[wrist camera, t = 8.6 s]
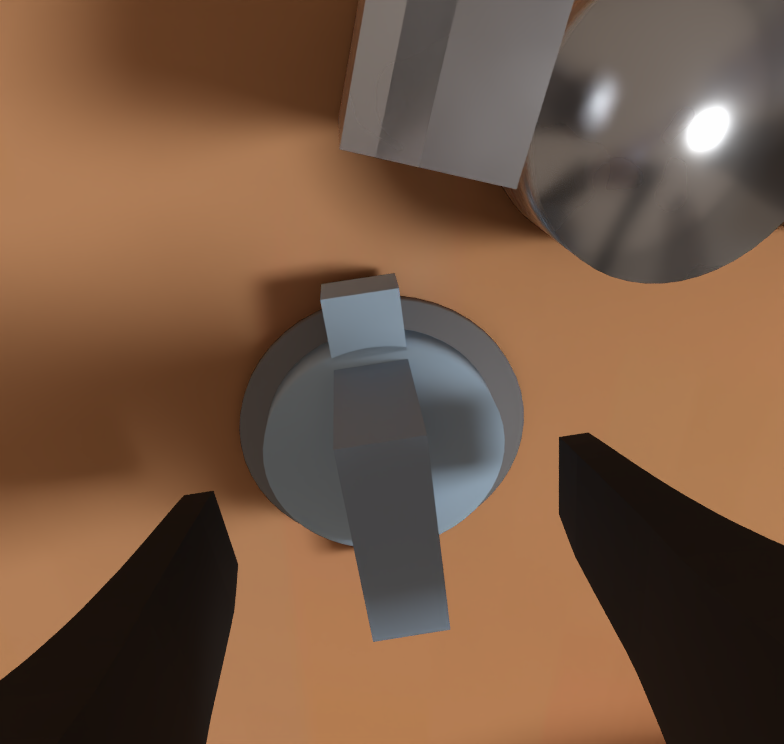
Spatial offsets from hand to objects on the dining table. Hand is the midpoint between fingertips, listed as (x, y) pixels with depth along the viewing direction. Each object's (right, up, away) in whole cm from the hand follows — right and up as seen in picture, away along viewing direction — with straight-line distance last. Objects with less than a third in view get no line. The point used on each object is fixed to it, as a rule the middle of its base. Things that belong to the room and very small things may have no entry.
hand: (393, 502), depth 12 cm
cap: (0, +1, +2) cm, 3 cm away
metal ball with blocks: (+4, +8, 0) cm, 9 cm away
